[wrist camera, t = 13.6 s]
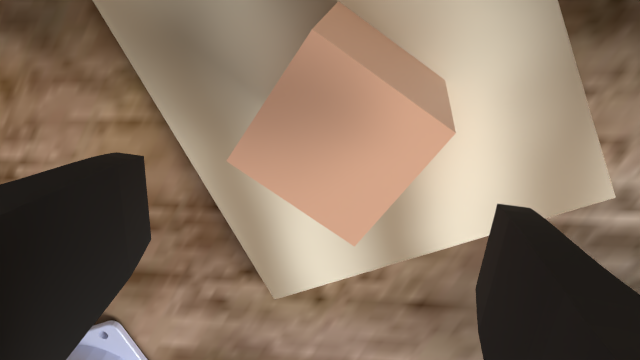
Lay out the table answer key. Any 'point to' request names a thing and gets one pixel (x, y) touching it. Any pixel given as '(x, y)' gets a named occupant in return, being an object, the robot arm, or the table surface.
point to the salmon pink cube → (346, 126)
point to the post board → (436, 178)
